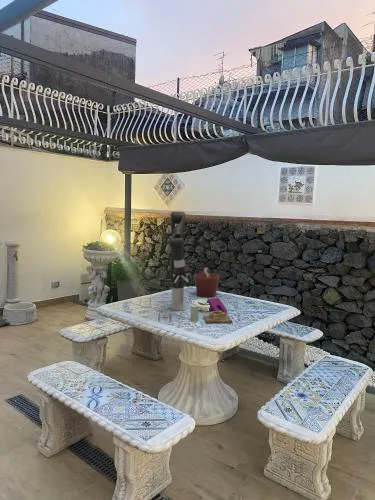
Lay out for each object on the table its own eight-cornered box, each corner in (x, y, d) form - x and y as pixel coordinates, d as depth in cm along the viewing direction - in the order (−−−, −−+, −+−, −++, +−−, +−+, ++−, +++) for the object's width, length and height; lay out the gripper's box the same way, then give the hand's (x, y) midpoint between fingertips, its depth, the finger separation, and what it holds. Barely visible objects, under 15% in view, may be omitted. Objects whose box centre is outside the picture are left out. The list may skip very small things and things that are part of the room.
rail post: (190, 319, 262) (190, 305, 260) (195, 318, 263) (195, 305, 262) (193, 321, 258) (193, 307, 257) (198, 320, 260) (198, 306, 259)
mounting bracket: (226, 321, 278) (215, 306, 291) (229, 313, 273) (218, 297, 287) (215, 323, 274) (205, 307, 287) (218, 314, 269) (207, 298, 283)
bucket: (213, 299, 318) (214, 271, 315) (189, 297, 326) (189, 269, 323) (221, 293, 341) (221, 266, 338) (198, 291, 349) (198, 265, 346)
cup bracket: (202, 317, 266) (203, 310, 266) (227, 317, 269) (227, 309, 268) (206, 323, 253) (206, 315, 252) (232, 323, 255) (232, 315, 254)
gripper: (190, 263, 267) (193, 285, 270) (171, 264, 270) (174, 285, 274) (188, 266, 260) (190, 288, 263) (168, 267, 263) (171, 289, 267)
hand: (182, 287), depth 268 cm, fingers open, 8 cm apart
